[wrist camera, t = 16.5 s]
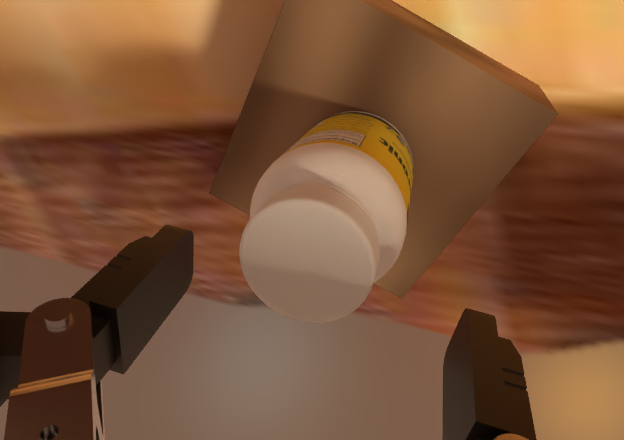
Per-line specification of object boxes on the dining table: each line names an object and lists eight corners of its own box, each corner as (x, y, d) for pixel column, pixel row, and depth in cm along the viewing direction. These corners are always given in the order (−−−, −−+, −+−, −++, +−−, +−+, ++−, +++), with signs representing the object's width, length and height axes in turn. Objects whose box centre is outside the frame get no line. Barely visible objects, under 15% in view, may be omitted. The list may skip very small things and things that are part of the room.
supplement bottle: (417, 218, 22) (404, 350, 13) (307, 219, 23) (231, 340, 15) (413, 103, 20) (395, 170, 11) (294, 112, 21) (195, 178, 13)
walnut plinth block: (537, 83, 23) (558, 113, 19) (407, 249, 29) (401, 298, 25) (326, -39, 22) (299, -36, 18) (242, 157, 29) (209, 192, 25)
